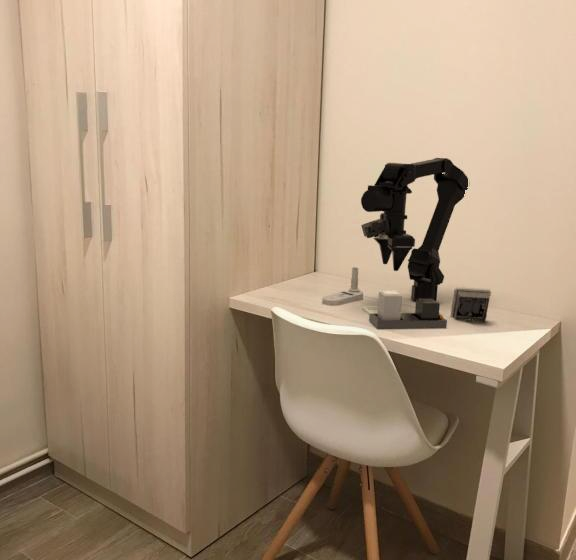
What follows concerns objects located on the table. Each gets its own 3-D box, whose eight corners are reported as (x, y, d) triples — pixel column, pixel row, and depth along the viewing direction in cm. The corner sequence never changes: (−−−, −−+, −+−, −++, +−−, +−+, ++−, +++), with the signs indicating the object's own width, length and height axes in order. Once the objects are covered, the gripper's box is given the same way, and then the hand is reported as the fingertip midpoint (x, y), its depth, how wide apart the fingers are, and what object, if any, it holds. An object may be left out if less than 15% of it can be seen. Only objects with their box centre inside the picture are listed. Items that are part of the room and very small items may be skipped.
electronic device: (319, 272, 174) (354, 265, 184) (318, 306, 176) (352, 297, 186) (333, 276, 170) (368, 268, 180) (332, 310, 172) (366, 300, 182)
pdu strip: (435, 322, 162) (437, 296, 161) (446, 330, 156) (448, 303, 154) (368, 322, 159) (370, 297, 158) (377, 331, 153) (378, 304, 151)
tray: (393, 310, 172) (393, 306, 172) (403, 318, 164) (403, 313, 164) (362, 310, 171) (362, 306, 170) (370, 318, 163) (370, 314, 163)
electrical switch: (485, 319, 167) (489, 286, 164) (489, 327, 162) (493, 293, 159) (449, 317, 168) (453, 284, 165) (452, 324, 163) (456, 291, 160)
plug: (393, 322, 159) (396, 290, 157) (399, 327, 155) (402, 294, 153) (376, 322, 158) (379, 290, 157) (382, 327, 154) (384, 294, 152)
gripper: (356, 206, 174) (352, 260, 178) (375, 214, 157) (371, 274, 160) (394, 207, 176) (390, 261, 180) (417, 214, 158) (413, 274, 162)
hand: (390, 267), depth 170 cm, fingers open, 9 cm apart
